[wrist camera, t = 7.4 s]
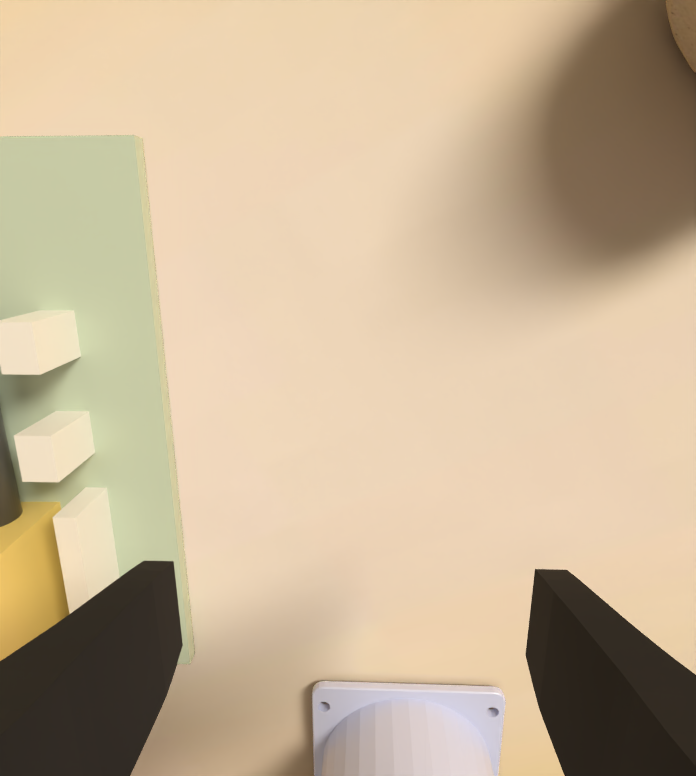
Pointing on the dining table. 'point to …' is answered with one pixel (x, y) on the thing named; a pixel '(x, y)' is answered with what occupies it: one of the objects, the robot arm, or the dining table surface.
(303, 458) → the dining table surface
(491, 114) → the dining table surface
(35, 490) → the board
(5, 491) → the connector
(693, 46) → the ceramic mug
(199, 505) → the dining table surface
